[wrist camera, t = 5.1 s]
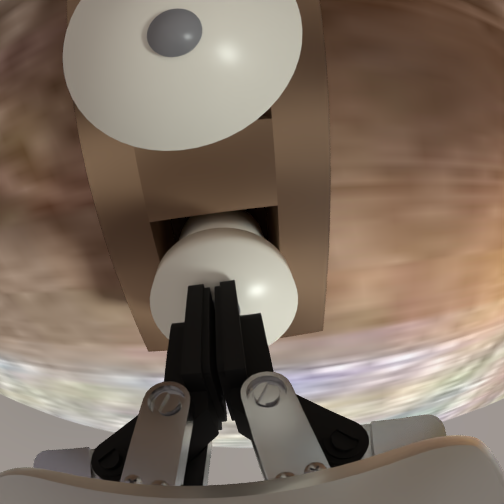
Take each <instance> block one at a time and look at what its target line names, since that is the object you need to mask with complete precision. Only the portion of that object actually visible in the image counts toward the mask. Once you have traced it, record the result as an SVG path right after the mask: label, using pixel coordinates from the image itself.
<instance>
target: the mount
mask: <svg viewBox="0 0 504 504" xmlns="http://www.w3.org/2000/svg"><path fill="white" fill-rule="evenodd" d="M80 1H81V0H67V28H68V25H69V22H70V19H71V17H72V15H73V13H74V11H75V9H76V7H77V5H78V4H79V2H80ZM296 2H297V5H298V8H299V12H300V16H301V22H302V46H301V51H300V56H299V60H298V63H297V66H296V69H295V71H294V74H293V76H292V77H291V79H290V81H289V83H288V85H287V87H286V88H285V90H284V91H283V92H282V94H281V95H280V97H279V98H278V99H277V100H276V102H275V103H274V104H273V105H272V106H271V107H270V108H269V109H268V110H267V111H266V112H265V113H264V114H263V115H261V116H260V117H259V118H258V119H257V120H256V121H254V122H253V123H251V124H250V125H248V126H247V127H246V128H244V129H243V130H241V131H239V132H237V133H235V134H233V135H231V136H229V137H228V138H225V139H222V140H220V141H217V142H215V143H212V144H209V145H205V146H201V147H198V148H192V149H186V150H174V151H160V150H149V149H144V148H139V147H134V146H131V145H128V144H125V143H122V142H120V141H118V140H116V139H114V138H112V137H110V136H108V135H106V134H105V133H103V132H102V131H100V130H99V129H97V128H96V127H95V126H94V125H93V124H92V123H91V122H90V121H88V120H87V119H86V117H85V116H84V115H83V114H82V112H81V111H80V110H79V109H78V107H77V105H76V104H75V102H74V100H73V103H74V110H75V116H76V122H77V128H78V134H79V139H80V145H81V150H82V154H83V159H84V164H85V168H86V173H87V177H88V181H89V185H90V189H91V193H92V197H93V201H94V204H95V208H96V211H97V215H98V218H99V222H100V225H101V229H102V232H103V235H104V238H105V241H106V245H107V248H108V251H109V254H110V257H111V260H112V262H113V265H114V268H115V271H116V274H117V277H118V279H119V282H120V285H121V287H122V290H123V293H124V295H125V298H126V300H127V303H128V305H129V308H130V310H131V313H132V315H133V318H134V320H135V322H136V325H137V327H138V329H139V332H140V334H141V336H142V338H143V341H144V343H145V345H146V347H147V349H148V351H149V352H150V351H166V350H168V343H169V339H168V338H167V337H166V336H165V335H164V334H163V333H162V332H161V331H160V329H159V328H158V326H157V325H156V323H155V321H154V319H153V316H152V313H151V308H150V294H151V289H152V285H153V282H154V278H155V275H156V272H157V268H158V265H159V263H160V262H161V260H162V258H163V256H164V255H165V254H166V252H167V251H168V250H169V249H170V248H171V247H172V246H173V245H174V244H175V239H174V235H173V230H172V226H171V221H170V219H175V218H182V217H189V216H196V215H203V214H211V213H218V212H226V211H234V210H242V209H251V208H259V207H266V211H267V225H268V240H269V242H270V243H272V244H273V245H274V246H275V247H276V248H277V249H278V250H279V251H280V253H281V254H282V255H283V256H284V258H285V260H286V262H287V264H288V266H289V269H290V272H291V274H292V277H293V279H294V282H295V285H296V288H297V293H298V305H297V311H296V314H295V317H294V319H293V321H292V323H291V325H290V326H289V328H288V329H287V330H286V332H285V333H284V334H283V335H282V336H281V337H280V338H283V337H289V336H296V335H302V334H307V333H313V332H319V331H323V324H324V313H325V301H326V288H327V273H328V255H329V232H330V184H331V166H330V119H329V97H328V80H327V66H326V54H325V43H324V33H323V24H322V15H321V7H320V0H296Z"/></svg>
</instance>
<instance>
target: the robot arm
mask: <svg viewBox="0 0 504 504" xmlns="http://www.w3.org/2000/svg"><path fill="white" fill-rule="evenodd" d="M214 292H215V309H214V305H213V300H212V295H211V290H210V287H207V288H205V287H204V284H199V285H190V286H188V291H187V300H186V311H185V321H184V322H181V323H172V324H171V328H170V335H169V343H168V351H167V359H166V368H165V378H164V382H162V383H158V384H156V385H154V386H153V387H151V388H150V389H149V390H148V391H147V392H146V394H145V396H144V398H143V401H142V405H141V408H140V411H139V415H137V416H136V417H135V418H134V419H132V420H131V421H130V422H128V423H127V424H126V425H125V426H123V427H122V428H121V429H119V430H118V431H117V432H115V433H114V434H113V435H112V436H110V437H109V438H108V439H106V440H105V441H104V442H102V443H101V444H100V445H99V446H98V447H97V448H96V449H90V448H89V447H85V448H74V449H62V450H46V451H42V452H41V453H39V454H38V455H37V457H36V458H35V460H34V468H29V467H28V468H27V467H24V468H14V469H10V470H7V471H4V472H1V473H0V504H504V471H503V469H502V467H501V465H500V464H499V462H498V460H497V459H496V457H495V456H494V454H493V453H492V451H491V450H490V449H489V448H488V447H487V446H486V445H485V444H484V443H483V442H482V441H480V440H479V439H477V438H474V437H470V436H461V435H456V436H446V432H445V427H444V425H443V423H442V421H441V420H440V419H439V418H438V417H436V416H433V415H419V416H413V417H406V418H399V419H391V420H382V421H372V422H371V423H370V424H365V425H360V424H358V423H356V422H354V421H352V420H350V419H348V418H345V417H343V416H341V415H339V414H336V413H334V412H332V411H330V410H328V409H325V408H323V407H321V406H319V405H317V404H315V403H313V402H311V401H309V400H307V399H305V398H303V397H301V396H299V395H297V394H295V391H294V389H293V387H292V385H291V383H290V382H289V380H288V379H287V378H286V377H284V376H283V375H281V374H278V373H276V372H273V367H272V362H271V358H270V353H269V348H268V344H267V339H266V334H265V329H264V325H263V320H262V315H261V313H256V314H248V315H241V316H240V312H239V305H238V298H237V291H236V285H235V280H230V281H222V282H220V286H215V287H214ZM226 403H227V406H228V409H229V413H230V416H231V419H232V421H234V420H235V422H236V425H237V429H238V432H239V433H240V434H242V435H244V436H245V437H247V438H248V439H250V440H251V442H252V445H253V448H254V451H255V454H256V457H257V460H258V463H259V466H260V469H261V472H262V475H263V478H264V481H258V482H249V483H239V484H227V485H209V486H207V483H208V474H209V467H210V466H209V465H210V458H211V450H212V440H213V439H214V438H215V437H216V436H217V435H218V434H219V432H218V430H222V422H224V421H227V412H226Z"/></svg>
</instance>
